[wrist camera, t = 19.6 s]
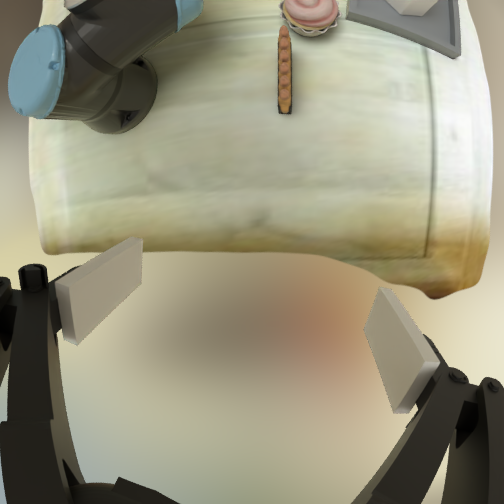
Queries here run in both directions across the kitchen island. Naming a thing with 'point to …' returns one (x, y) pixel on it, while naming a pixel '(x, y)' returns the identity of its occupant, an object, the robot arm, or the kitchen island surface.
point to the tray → (413, 23)
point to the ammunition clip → (284, 72)
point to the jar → (412, 6)
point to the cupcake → (310, 15)
